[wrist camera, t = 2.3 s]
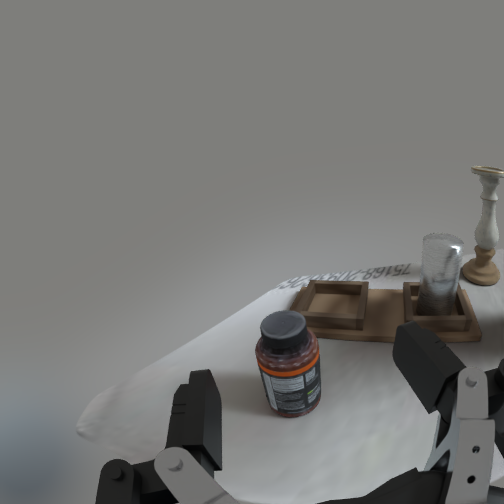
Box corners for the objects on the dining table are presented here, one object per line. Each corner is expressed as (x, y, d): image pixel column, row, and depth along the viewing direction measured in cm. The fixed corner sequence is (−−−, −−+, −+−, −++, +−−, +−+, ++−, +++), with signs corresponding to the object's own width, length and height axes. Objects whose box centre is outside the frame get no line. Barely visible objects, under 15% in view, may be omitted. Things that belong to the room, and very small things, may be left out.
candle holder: (455, 276, 40) (461, 167, 33) (471, 261, 43) (476, 164, 35) (491, 291, 32) (504, 174, 25) (503, 273, 35) (513, 170, 28)
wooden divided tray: (464, 294, 34) (467, 279, 33) (479, 340, 25) (485, 323, 24) (302, 291, 48) (300, 276, 47) (279, 333, 38) (277, 317, 37)
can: (448, 299, 33) (457, 233, 30) (454, 322, 29) (468, 250, 25) (414, 299, 36) (420, 233, 32) (417, 323, 31) (426, 249, 27)
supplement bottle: (278, 376, 31) (263, 301, 26) (326, 382, 28) (323, 304, 24) (260, 414, 26) (237, 340, 22) (313, 423, 23) (308, 348, 19)
